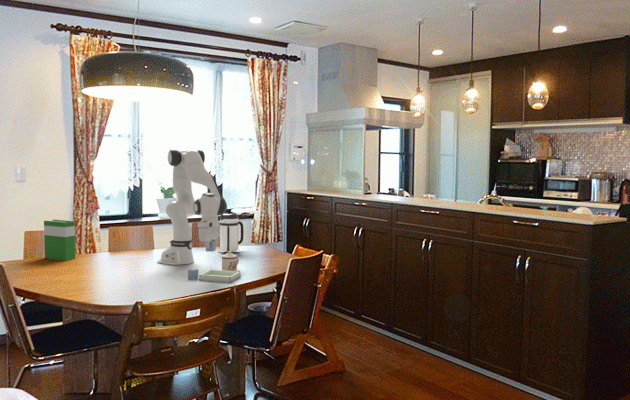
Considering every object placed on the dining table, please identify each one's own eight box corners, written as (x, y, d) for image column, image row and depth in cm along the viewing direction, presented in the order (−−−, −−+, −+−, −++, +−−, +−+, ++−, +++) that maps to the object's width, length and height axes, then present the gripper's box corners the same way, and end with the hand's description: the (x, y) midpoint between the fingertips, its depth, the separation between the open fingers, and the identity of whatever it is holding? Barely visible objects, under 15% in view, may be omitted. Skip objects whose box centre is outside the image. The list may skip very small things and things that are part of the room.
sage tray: (199, 280, 294) (199, 274, 294) (210, 274, 308) (210, 269, 308) (230, 282, 290) (230, 277, 290) (240, 277, 303) (240, 271, 303)
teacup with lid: (229, 273, 311) (229, 253, 310) (218, 271, 316) (218, 251, 315) (243, 270, 321) (244, 250, 320) (232, 268, 326) (232, 248, 325)
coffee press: (239, 254, 369) (240, 210, 366) (216, 254, 369) (216, 210, 367) (243, 250, 386) (243, 208, 384) (220, 249, 386) (221, 207, 384)
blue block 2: (205, 251, 299) (205, 242, 299) (209, 250, 303) (208, 241, 303) (212, 251, 298) (212, 242, 298) (215, 250, 302) (215, 241, 302)
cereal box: (44, 258, 345) (43, 220, 343) (54, 256, 352) (53, 219, 349) (65, 261, 338) (65, 222, 336) (75, 259, 345) (74, 221, 343)
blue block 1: (188, 279, 297) (188, 269, 296) (191, 277, 301) (191, 268, 300) (194, 279, 296) (194, 270, 296) (198, 277, 300) (198, 268, 299)
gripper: (212, 220, 310) (213, 244, 311) (196, 224, 291) (197, 250, 292) (223, 220, 309) (223, 244, 310) (207, 224, 289) (207, 250, 290)
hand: (210, 247), depth 301 cm, fingers closed on blue block 2, 4 cm apart
